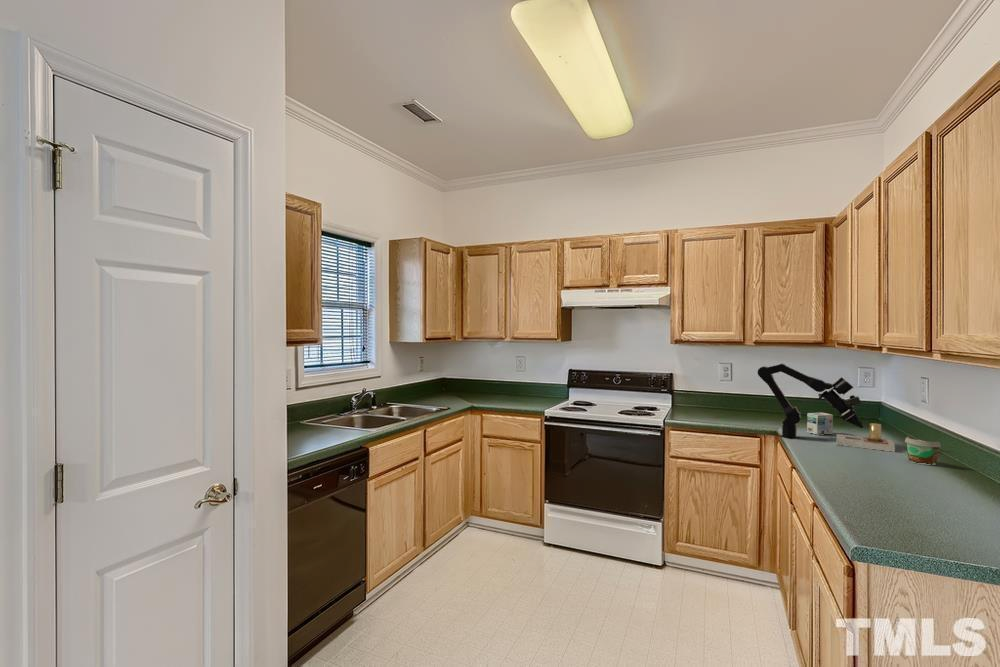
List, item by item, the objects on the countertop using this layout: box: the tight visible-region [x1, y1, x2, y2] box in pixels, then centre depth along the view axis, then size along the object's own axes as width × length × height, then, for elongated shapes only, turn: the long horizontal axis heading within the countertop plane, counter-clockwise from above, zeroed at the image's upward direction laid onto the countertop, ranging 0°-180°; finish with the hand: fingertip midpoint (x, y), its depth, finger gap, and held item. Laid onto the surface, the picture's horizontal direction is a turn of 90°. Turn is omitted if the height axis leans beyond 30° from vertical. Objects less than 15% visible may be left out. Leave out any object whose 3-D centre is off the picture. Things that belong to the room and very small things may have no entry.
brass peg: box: [868, 422, 882, 442], centre depth 237 cm, size 4×4×11 cm
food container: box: [904, 435, 942, 464], centre depth 210 cm, size 12×6×10 cm, turn 21°
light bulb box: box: [806, 412, 834, 436], centre depth 266 cm, size 11×7×11 cm, turn 105°
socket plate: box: [835, 433, 896, 453], centre depth 240 cm, size 22×14×3 cm, turn 57°
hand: (862, 425), depth 240 cm, fingers open, 9 cm apart
